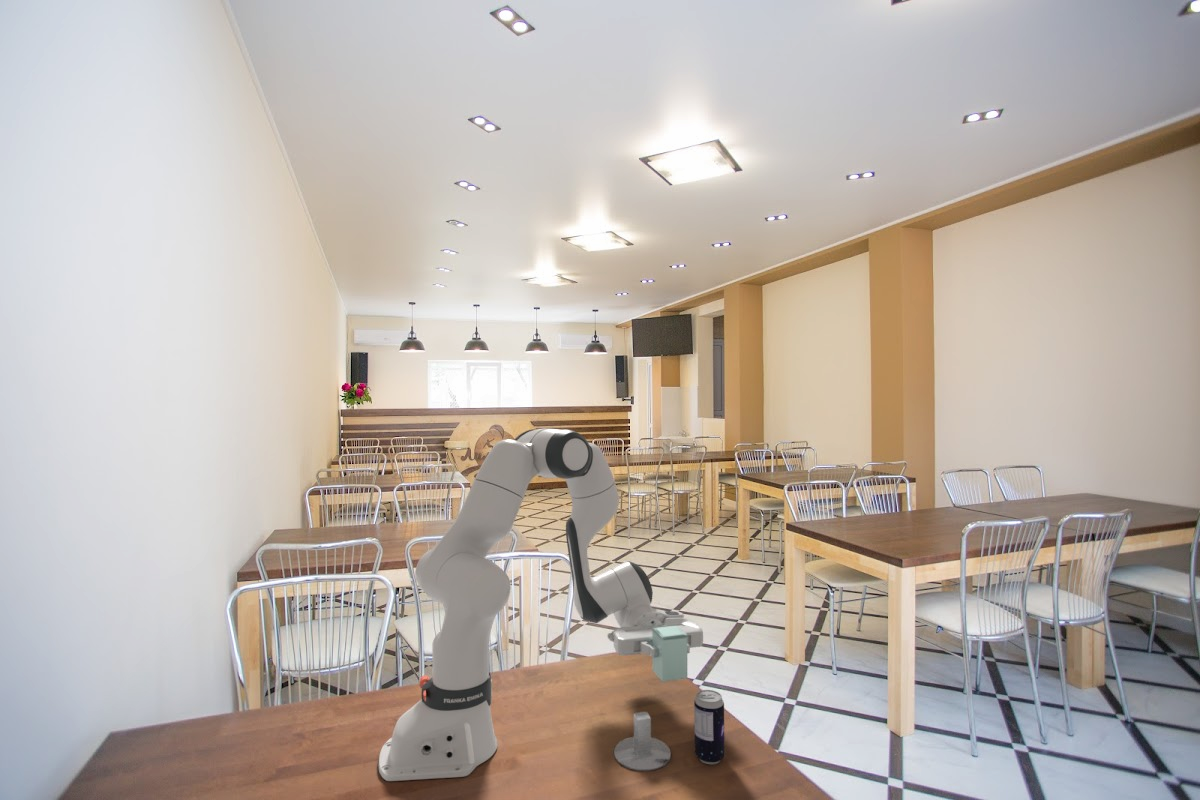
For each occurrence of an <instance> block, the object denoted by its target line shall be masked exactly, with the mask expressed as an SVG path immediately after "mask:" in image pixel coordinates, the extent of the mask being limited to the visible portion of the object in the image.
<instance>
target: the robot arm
mask: <svg viewBox="0 0 1200 800" xmlns="http://www.w3.org/2000/svg"><path fill="white" fill-rule="evenodd" d="M475 475H476V476H475V478H474V481H473V482H472V484H471V487H470V489H469V492H467V493H468V494H467V496H466V498H465V501H464V503H463V505H462V507H461V509H460V511H459V513H458V515H457V516H456V518H455V520H454V522H453V523H452V524H451V526H450V527H449V529H447V530H446V532H445V533H444V535H443V536H442V537H441V539H440V540H439V541H438V542H437V543H436V544H435V545H434V546H433V547H432V548H431V549H429V550H427V551H426V552H425V553H423V554H422V555H421V557H420V558H419V560H418V561H417V564H416V567H415V571H414V572H415V581H416V583H417V585H418V586H419V588H420V589H421V590H422V592H423V593H424V594H425V595H426V596H427V597H428V598H430V599H431V600H433V601H435V602H437V603H439V604H441V605H442V606H443V609H444V615H443V616H444V618H443V622H442V626H441V629H440V631H438V633H437V634H436V635H435V636H434V638H433V641H432V645H431V646H432V647H431V650H432V651H431V652H432V656H431V657H432V659H431V660H432V663H431V667H432V671H431V672H432V674H431V676H432V677H431V678H430V677H429V675H422V676H421V677H420V678H419V680H418V681H419V683H418V684H419V688H420V689H421V699H420V700H418V701H417V702H416V703H415V704H414V705H412V707H410V708H409V709H408V710H407V711H405V712H404V713H403V714H401V715H400V716H399V718H398V720H397V721H396V723H395V726H394V729H393V731H392V737H390V738H389V739H388V740H387V741H386V742H385V743H384V744H383V745H382V747H381V750H380V752H379V757H378V772H379V775H380V776H381V778H382V779H383V780H385V781H386V782H399V781H411V780H412V781H414V780H430V779H446V778H463V777H464V778H465V777H467V776H469V775H470V774H471V773H473V771H474V770H475V769H476V768H477V767H478V766H479V765H481V764H482V763H485V762H486V761H488V760H489V759H490V758H491V757H492V756H493V755H494V754H495V753H496V750H497V748H498V740H497V737H496V734H495V730H494V725H493V717H492V710H491V704H492V698H493V683H492V682H493V681H492V676H491V672H490V638H491V633H492V628H493V625H494V621H495V618H496V616H497V615H498V614H499V613H500V612H501V611H502V610H503V609H504V608H505V606H506V604H507V603H508V600H509V599H510V595H511V580H510V578H509V576H508V574H507V573H506V571H504V569H502V568H501V566H499V565H497V564H496V563H495V562H494V561H492V560H490V559H488V558H486V557H487V556H488V554H489V553H490V551H491V550H492V549H493V548H494V547H495V546H496V545H497V544H498V543H499V542H500V541H502V540H503V539H505V538H506V537H507V536H508V535H510V533H511V531H512V528H513V525H514V523H515V521H516V518H517V515H518V513H519V511H520V508H521V505H522V503H523V500H524V498H525V495H526V493H527V491H528V487H529V485H530V483H531V481H532V480H533V479H534V478H535V477H536V476H537V477H542V478H545V479H562V480H563V479H564V480H565V483H566V485H567V489H568V492H569V495H570V498H571V505H572V506H571V513H570V516H569V518H568V519H567V521H566V522H565V536H566V537H565V539H566V544H567V553H568V558H569V559H568V560H569V566H570V574H571V580H572V591H573V592H572V593H573V602H574V607H575V610H576V612H577V613H578V615H579V616H580V618H581V619H582V620H584V621H586V622H589V623H592V624H598V623H600V622H601V621H603V620H604V619H607V618H608V617H609V616H610V615H613V616H614V619H615V620H616V623H617V624H618V626H619V627H617V628H615V629H614V630H612V631H611V632H609V633H607V634H606V635H607V639H608V640H609V641H610V642H613V648H614V650H615V652H616V654H617V655H619V656H623V657H624V656H625V657H626V656H634V655H648V656H650V657H651V658H652V659H653V658H654V657H659V654H658V653H659V649H658V648H657V647H656V646H652V628H658V627H667V626H678V627H679V628H680V629H681V630H682V631H684V632H685V633H686V634H687V654H690V653H691V651H690V649H691V648H692V649H693V648H699V647H701V646H703V644H704V631H703V629H702V627H700V626H699V624H697V623H695V621H694V620H691V619H689V618H686V617H685V615H684V613H683V612H680V611H672V610H671V611H669V610H662V609H658V608H653V607H652V606H651V604H652V601H653V596H654V595H653V587H652V584H651V580H650V579H649V577H648V574H646V572H645V571H644V569H643V568H642V567H641V566H640V565H638V564H637V563H635V562H632V561H629V560H628V561H627V560H626V561H624V562H622V563H620V564H617V565H615V566H613V567H611V568H610V569H607V570H605V571H603V572H601V573H599V574H596V575H595V576H591V571H590V564H589V557H588V549H589V546H590V544H591V542H592V540H593V539H594V537H596V535H597V534H598V533H599V532H600V531H601V530H602V529H603V528H604V527H606V525H608V524H609V523H610V522H611V520H612V519H613V517H615V514H616V513H617V511H618V508H619V505H620V497H619V491H618V487H617V484H616V481H615V478H614V476H613V473H612V469H611V467H610V465H609V463H608V461H607V459H606V457H605V455H604V454H603V451H602V450H601V449H600V447H599V446H598V445H597V444H595V443H593V442H588V440H587V439H586V437H584V435H582V434H580V433H579V432H577V431H575V430H571V429H556V428H551V427H550V428H549V427H547V428H546V427H545V428H538V429H536V428H534V429H528V430H525V431H524V432H521V433H519V434H518V435H517V436H516V437H515V438H514V439H502V440H499V441H497V442H496V443H495V444H494V445H493V447H492V448H491V449H490V451H489V452H488V454H487V456H486V457H485V458H484V460H483V462H482V464H481V465H480V467H479V469H478V471H477V474H475Z"/></svg>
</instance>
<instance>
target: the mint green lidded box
mask: <svg viewBox="0 0 1200 800" xmlns="http://www.w3.org/2000/svg"><path fill="white" fill-rule="evenodd" d="M652 646H656V647H657V648H658V649H659V653H658V654H659V657H654V658H652V672H653V673H654V674H655V675H656V676H657V677H658V679H660V680H661V682H669V681H677V680H684V679H688V653H687V634H686V633H685V632H684V631H682V630H681V629H680V628H679V627H678V626H667V627H658V628H652Z"/></svg>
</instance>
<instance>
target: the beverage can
mask: <svg viewBox="0 0 1200 800" xmlns="http://www.w3.org/2000/svg"><path fill="white" fill-rule="evenodd" d="M693 702H694V703H693V704H694V710H693V711H694V712H693V713H694V719H693V720H694V754H695V756H696V757H697V758H698V760H699V761H700V762H701V763H703V764H706V765H717V764H719V763H720V762H721V761H722V760H723V759H724V758H725V756H726V755H725V753H726V752H725V703H724V700H723V696H722V694H721V693H719V692H718V691H716V690H713V689H702V690H699V691H697V692H696V697H695V698H694V701H693Z"/></svg>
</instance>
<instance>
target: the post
mask: <svg viewBox="0 0 1200 800" xmlns="http://www.w3.org/2000/svg"><path fill="white" fill-rule="evenodd" d="M651 722H652V717H651V716H650V715H649V713H648V712H647V711H639V712H634V713H633V736H631V737H627V738H623V739H622V740H620V741H619V742H618V743H617V744H616V745H615V747H614V752H613V754H614V758H615V760H616V761H617V762H618V764H619V765H620V766H623V767H624V768H626V769H629V770H631V771H636V772H651V771H656V770H660V769H661V768H663V767H665V766H666V765H668V764H669V762H670V760H671V755H672V754H671V749H670V748H669V746H668V745H667V744H666V742H664V741H662V740H660V739H658V738H656V737H652V723H651Z"/></svg>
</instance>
